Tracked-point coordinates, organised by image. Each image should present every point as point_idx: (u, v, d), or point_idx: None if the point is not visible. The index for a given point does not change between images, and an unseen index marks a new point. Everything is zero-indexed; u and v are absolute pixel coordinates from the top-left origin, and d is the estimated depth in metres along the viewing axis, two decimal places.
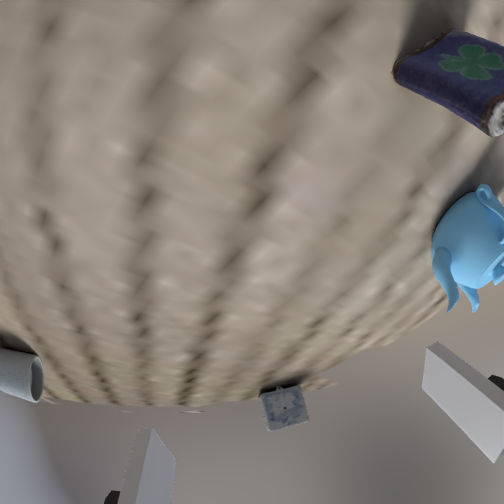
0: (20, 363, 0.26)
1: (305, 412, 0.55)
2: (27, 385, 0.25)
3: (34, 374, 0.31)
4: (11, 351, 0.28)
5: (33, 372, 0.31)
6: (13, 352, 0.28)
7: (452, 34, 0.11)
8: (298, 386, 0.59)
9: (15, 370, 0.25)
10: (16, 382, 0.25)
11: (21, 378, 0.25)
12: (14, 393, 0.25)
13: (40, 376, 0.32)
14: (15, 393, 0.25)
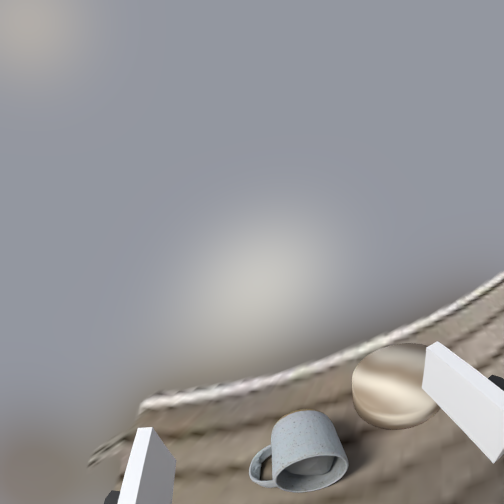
0: None
1: None
2: (340, 454, 0.20)
3: (282, 477, 0.22)
4: None
5: (283, 476, 0.22)
6: None
7: None
8: None
9: (341, 446, 0.22)
10: (335, 440, 0.22)
11: (342, 449, 0.21)
12: (311, 431, 0.23)
13: (282, 484, 0.21)
14: (313, 432, 0.22)
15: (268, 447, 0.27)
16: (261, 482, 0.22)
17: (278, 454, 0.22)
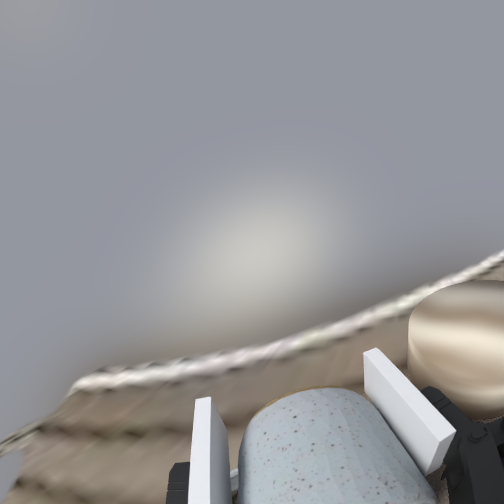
0: None
1: None
2: (431, 493, 0.05)
3: None
4: None
5: None
6: None
7: None
8: None
9: None
10: (408, 458, 0.07)
11: (425, 479, 0.06)
12: (346, 440, 0.07)
13: None
14: (352, 444, 0.07)
15: (236, 472, 0.11)
16: None
17: None
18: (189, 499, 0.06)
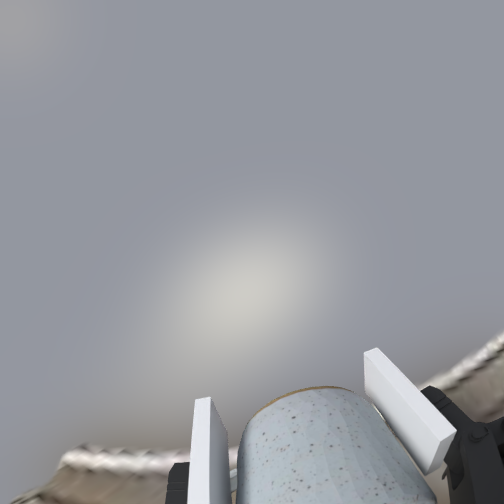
0: None
1: None
2: (430, 495, 0.05)
3: None
4: None
5: None
6: None
7: None
8: None
9: None
10: (407, 459, 0.07)
11: (424, 480, 0.06)
12: (345, 441, 0.07)
13: None
14: (351, 445, 0.07)
15: (235, 472, 0.11)
16: None
17: None
18: (189, 499, 0.06)
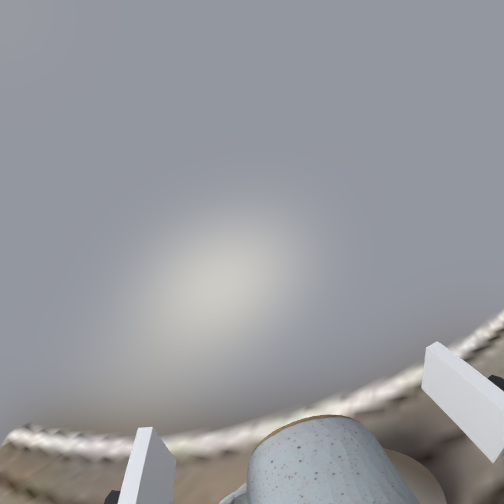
0: None
1: None
2: None
3: None
4: None
5: None
6: None
7: None
8: None
9: None
10: (400, 481, 0.07)
11: (415, 498, 0.06)
12: (346, 469, 0.08)
13: None
14: (351, 472, 0.07)
15: (243, 491, 0.11)
16: None
17: None
18: None
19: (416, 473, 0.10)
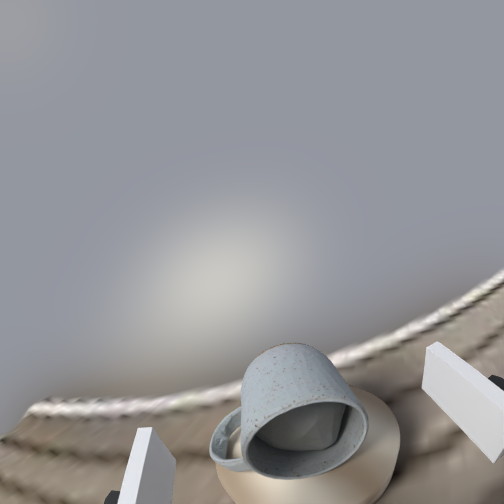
0: None
1: None
2: (356, 402, 0.13)
3: (260, 454, 0.15)
4: None
5: (262, 452, 0.15)
6: None
7: None
8: None
9: None
10: (343, 383, 0.15)
11: (357, 398, 0.14)
12: (303, 366, 0.15)
13: (260, 465, 0.13)
14: (307, 368, 0.15)
15: (239, 409, 0.19)
16: (226, 462, 0.14)
17: (249, 407, 0.14)
18: None
19: (373, 403, 0.18)
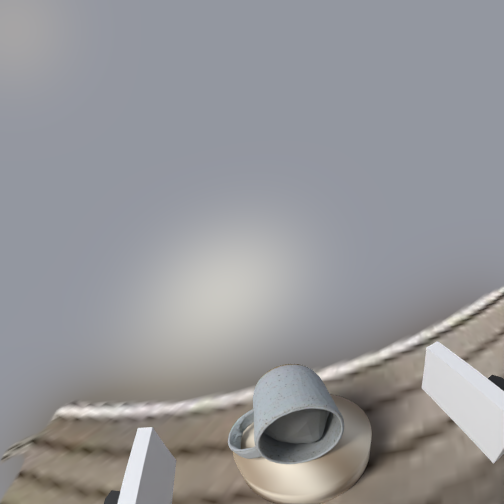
0: None
1: None
2: (335, 409, 0.19)
3: (267, 445, 0.21)
4: None
5: (268, 444, 0.21)
6: None
7: None
8: None
9: None
10: (327, 395, 0.21)
11: (336, 406, 0.20)
12: (299, 383, 0.22)
13: (267, 452, 0.20)
14: (301, 384, 0.21)
15: (250, 412, 0.25)
16: (241, 450, 0.20)
17: (261, 411, 0.20)
18: None
19: (353, 410, 0.25)
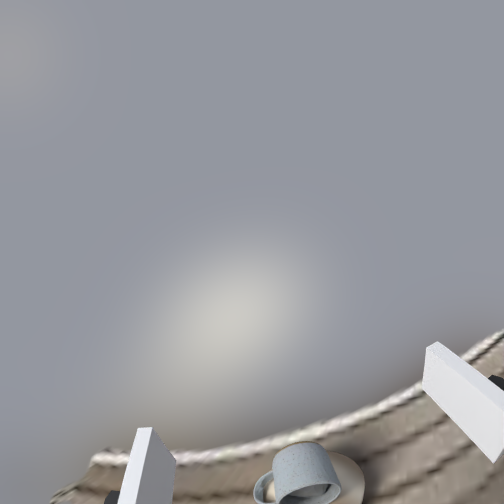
0: None
1: None
2: (335, 481, 0.21)
3: (284, 499, 0.23)
4: None
5: (285, 498, 0.23)
6: None
7: None
8: None
9: (335, 473, 0.24)
10: (330, 469, 0.23)
11: (336, 477, 0.22)
12: (309, 462, 0.24)
13: None
14: (310, 463, 0.24)
15: (269, 473, 0.28)
16: None
17: (280, 482, 0.23)
18: None
19: (352, 466, 0.27)
